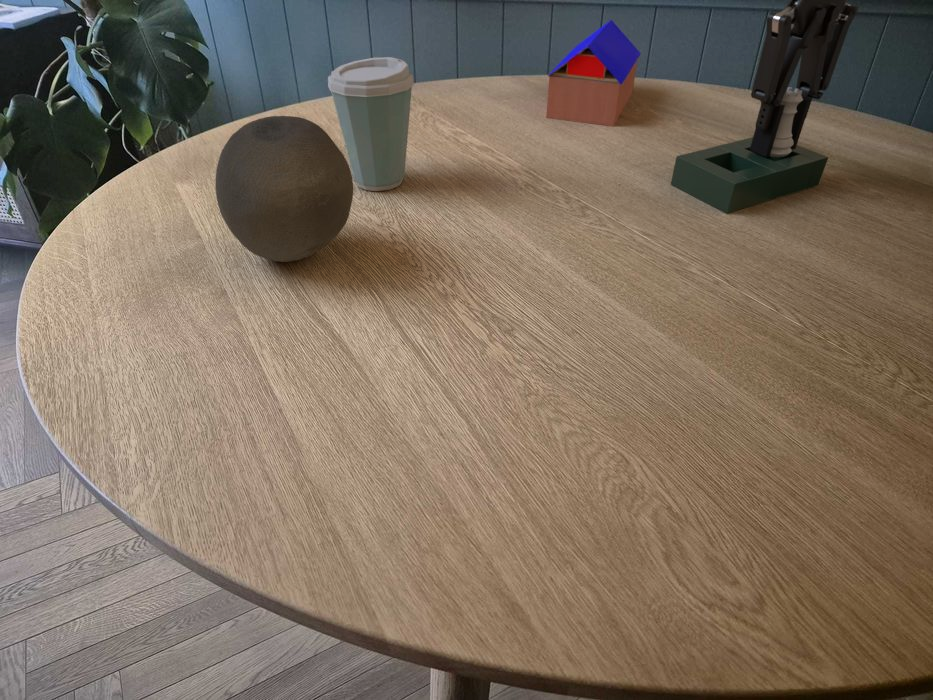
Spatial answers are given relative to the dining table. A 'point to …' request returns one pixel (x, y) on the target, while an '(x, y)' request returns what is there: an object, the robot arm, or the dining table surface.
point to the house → (594, 79)
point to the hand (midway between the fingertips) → (772, 149)
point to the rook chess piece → (786, 123)
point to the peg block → (745, 174)
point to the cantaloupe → (283, 187)
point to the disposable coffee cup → (374, 118)
